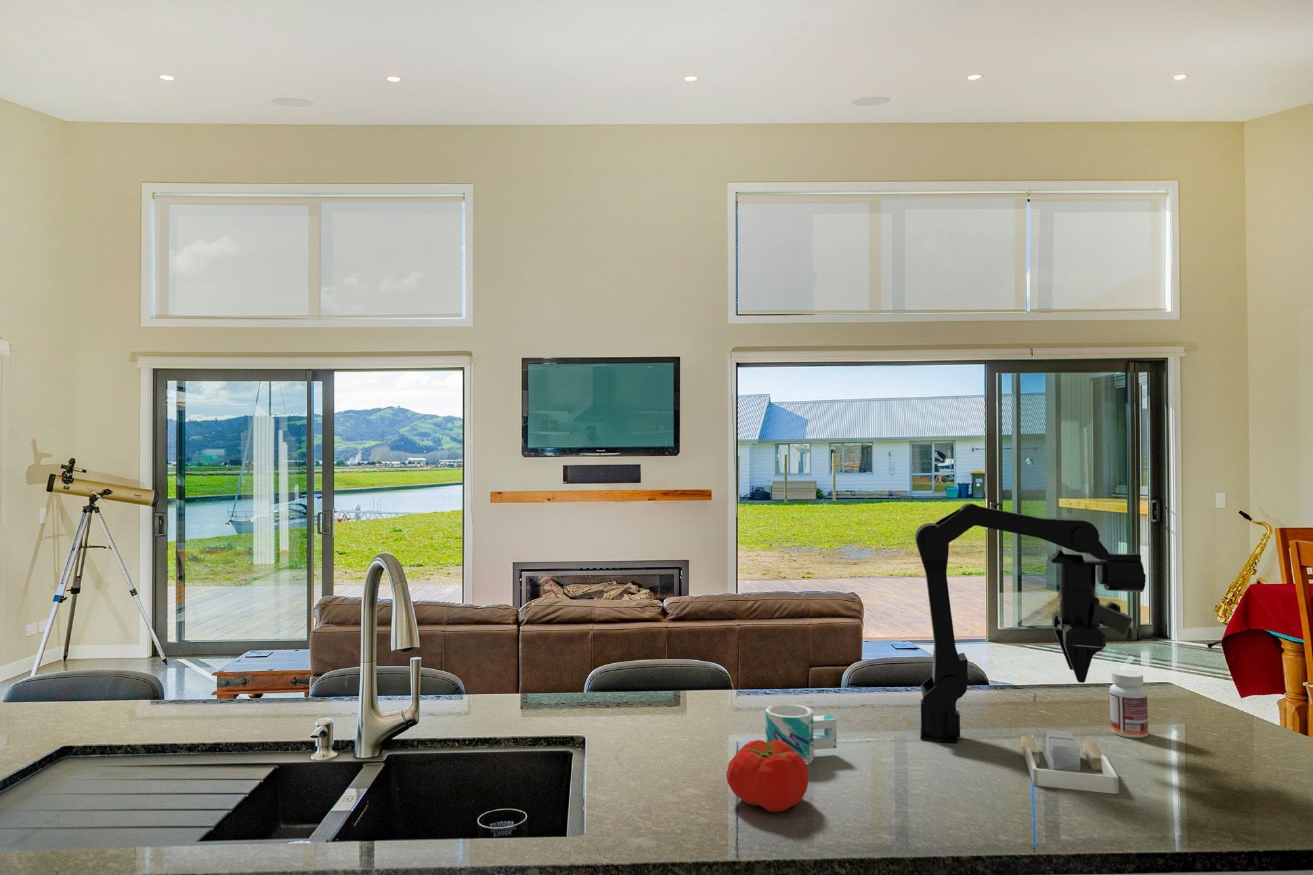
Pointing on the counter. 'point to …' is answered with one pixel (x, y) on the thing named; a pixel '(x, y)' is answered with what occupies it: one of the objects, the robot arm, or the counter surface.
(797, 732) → the mug
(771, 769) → the tomato
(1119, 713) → the pill bottle
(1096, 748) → the slot rails
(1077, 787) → the chip tray
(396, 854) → the counter surface
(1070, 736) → the block
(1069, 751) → the chip near
